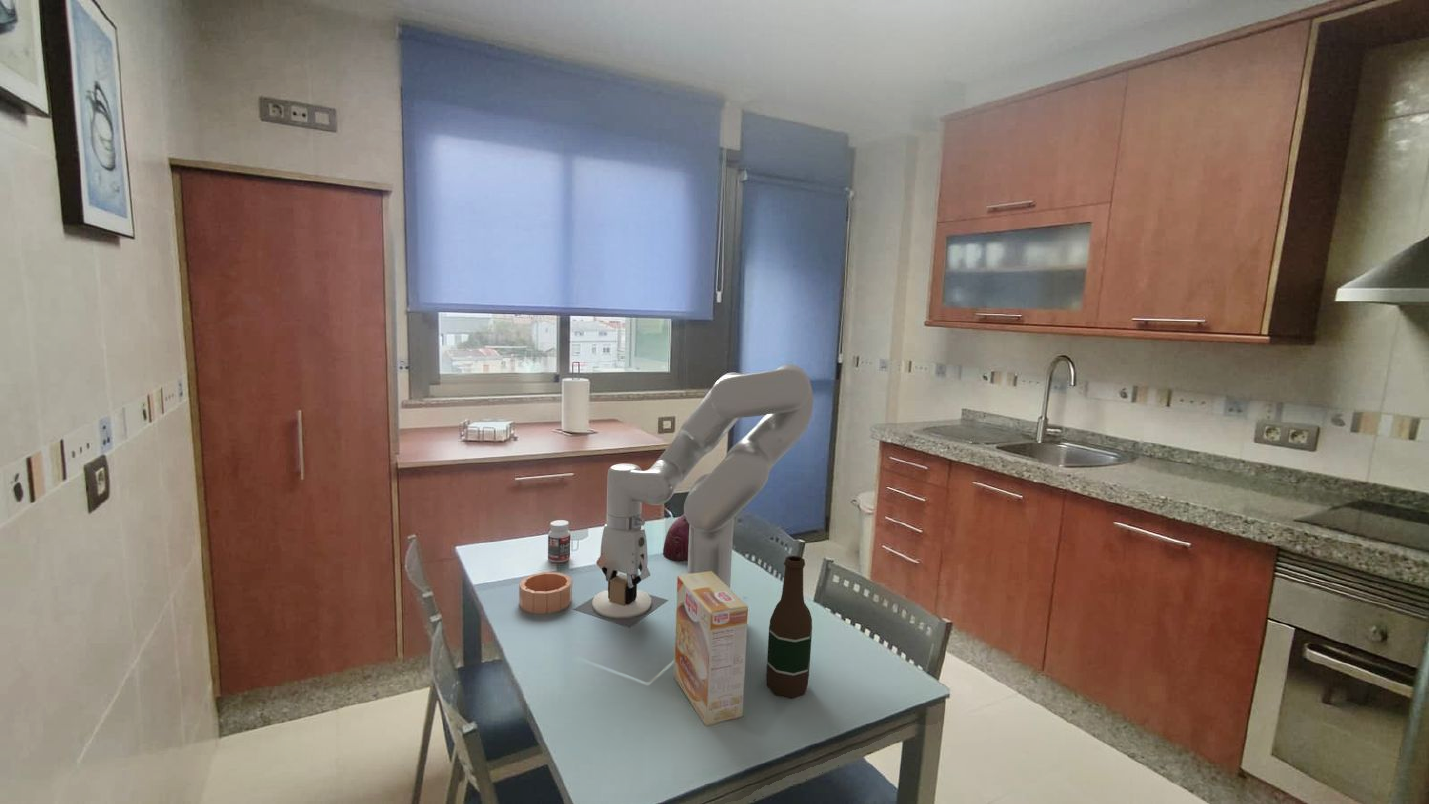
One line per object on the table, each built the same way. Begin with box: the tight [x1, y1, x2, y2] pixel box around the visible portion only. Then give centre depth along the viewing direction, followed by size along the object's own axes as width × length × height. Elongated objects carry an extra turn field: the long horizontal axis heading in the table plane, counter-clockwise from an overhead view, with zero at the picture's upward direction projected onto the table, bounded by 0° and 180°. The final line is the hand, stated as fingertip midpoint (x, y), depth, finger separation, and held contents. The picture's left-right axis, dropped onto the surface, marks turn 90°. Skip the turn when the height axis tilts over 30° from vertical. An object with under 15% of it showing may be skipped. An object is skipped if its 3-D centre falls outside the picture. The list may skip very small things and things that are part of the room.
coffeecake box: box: [673, 571, 749, 726], centre depth 106 cm, size 15×7×20 cm, turn 24°
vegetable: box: [662, 513, 690, 563], centre depth 170 cm, size 10×10×15 cm
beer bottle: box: [765, 555, 813, 699], centre depth 109 cm, size 8×8×24 cm
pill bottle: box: [547, 519, 571, 564], centre depth 163 cm, size 6×6×10 cm
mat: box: [573, 588, 669, 629], centre depth 139 cm, size 15×15×1 cm
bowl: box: [518, 571, 573, 615], centre depth 138 cm, size 11×11×5 cm
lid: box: [592, 573, 651, 618], centre depth 138 cm, size 13×13×6 cm
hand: (622, 598), depth 138 cm, fingers closed on lid, 4 cm apart
